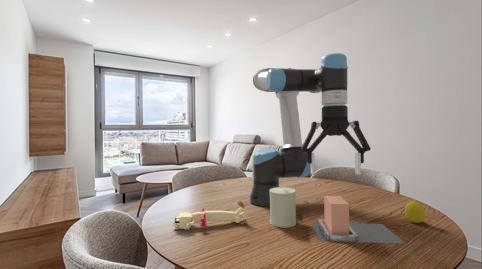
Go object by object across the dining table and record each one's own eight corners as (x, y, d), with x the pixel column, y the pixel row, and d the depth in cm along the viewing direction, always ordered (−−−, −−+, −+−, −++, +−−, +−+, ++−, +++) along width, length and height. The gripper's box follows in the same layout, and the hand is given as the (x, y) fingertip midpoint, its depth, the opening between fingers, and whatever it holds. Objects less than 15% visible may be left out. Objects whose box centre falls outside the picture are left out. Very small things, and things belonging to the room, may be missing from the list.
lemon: (426, 228, 79) (425, 204, 79) (405, 225, 82) (405, 201, 82) (424, 223, 83) (424, 199, 83) (404, 220, 86) (404, 197, 86)
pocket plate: (319, 243, 70) (319, 236, 70) (311, 224, 84) (311, 218, 84) (405, 246, 67) (405, 238, 67) (382, 226, 81) (382, 219, 81)
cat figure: (240, 220, 93) (173, 222, 88) (242, 197, 93) (174, 197, 88) (247, 230, 84) (171, 233, 78) (249, 205, 84) (173, 205, 78)
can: (280, 230, 80) (279, 193, 80) (264, 220, 88) (264, 187, 88) (301, 224, 85) (301, 189, 84) (285, 216, 93) (284, 184, 92)
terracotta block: (324, 225, 81) (324, 195, 81) (340, 225, 80) (339, 195, 80) (331, 237, 72) (331, 203, 72) (349, 238, 72) (348, 204, 71)
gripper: (294, 105, 73) (295, 176, 74) (382, 103, 71) (383, 176, 71) (292, 107, 81) (293, 171, 81) (371, 105, 78) (372, 171, 79)
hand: (335, 174), depth 76 cm, fingers open, 13 cm apart
